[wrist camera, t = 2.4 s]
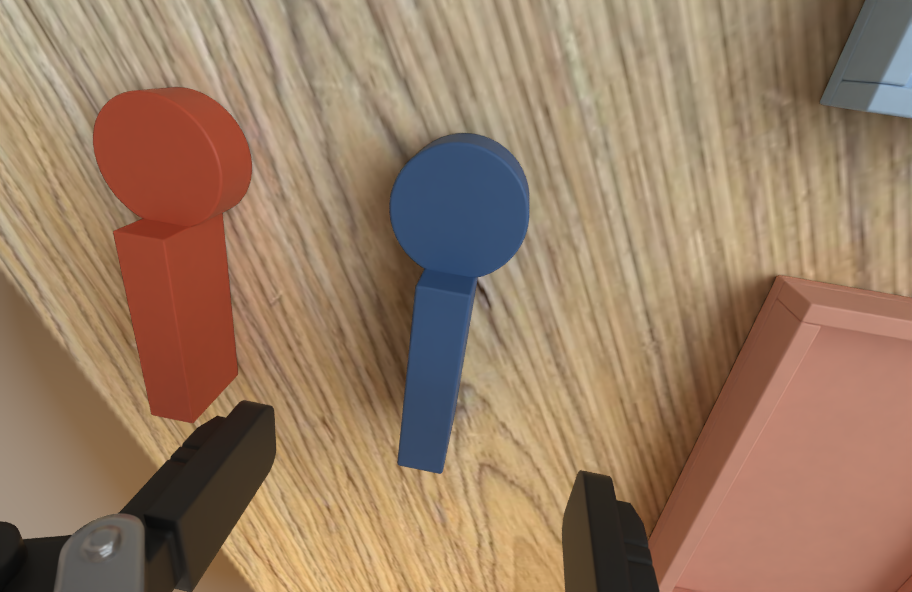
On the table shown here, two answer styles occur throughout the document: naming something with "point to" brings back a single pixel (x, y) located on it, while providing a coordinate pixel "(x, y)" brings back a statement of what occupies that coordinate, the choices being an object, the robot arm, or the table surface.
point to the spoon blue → (450, 270)
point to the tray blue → (876, 62)
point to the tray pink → (802, 455)
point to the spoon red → (176, 237)
